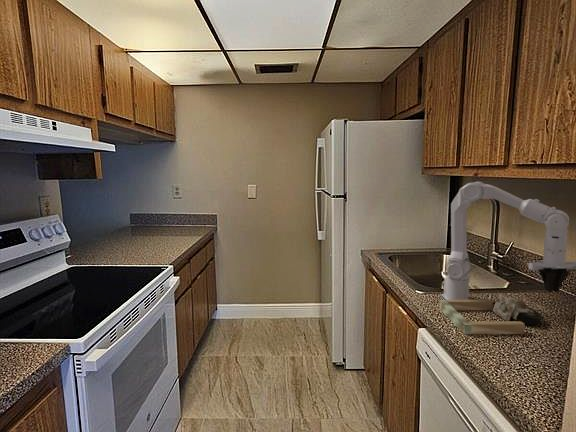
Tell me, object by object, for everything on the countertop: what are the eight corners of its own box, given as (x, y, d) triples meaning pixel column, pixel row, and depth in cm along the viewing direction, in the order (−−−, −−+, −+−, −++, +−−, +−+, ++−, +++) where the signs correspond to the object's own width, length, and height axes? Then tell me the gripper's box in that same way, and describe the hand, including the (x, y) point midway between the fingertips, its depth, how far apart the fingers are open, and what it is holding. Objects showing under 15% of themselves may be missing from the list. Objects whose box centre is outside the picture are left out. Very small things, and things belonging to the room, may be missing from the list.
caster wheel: (543, 331, 114) (518, 331, 111) (514, 311, 124) (490, 310, 121) (551, 313, 112) (526, 313, 109) (521, 294, 122) (497, 293, 119)
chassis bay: (438, 308, 128) (438, 300, 127) (489, 307, 127) (489, 299, 127) (464, 334, 108) (464, 324, 108) (524, 333, 107) (524, 324, 107)
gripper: (539, 252, 110) (536, 295, 112) (588, 251, 109) (584, 295, 111) (525, 247, 117) (522, 288, 119) (571, 246, 116) (568, 287, 118)
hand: (551, 291), depth 116 cm, fingers closed
